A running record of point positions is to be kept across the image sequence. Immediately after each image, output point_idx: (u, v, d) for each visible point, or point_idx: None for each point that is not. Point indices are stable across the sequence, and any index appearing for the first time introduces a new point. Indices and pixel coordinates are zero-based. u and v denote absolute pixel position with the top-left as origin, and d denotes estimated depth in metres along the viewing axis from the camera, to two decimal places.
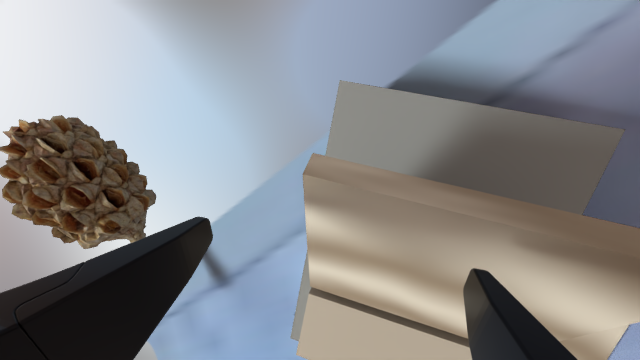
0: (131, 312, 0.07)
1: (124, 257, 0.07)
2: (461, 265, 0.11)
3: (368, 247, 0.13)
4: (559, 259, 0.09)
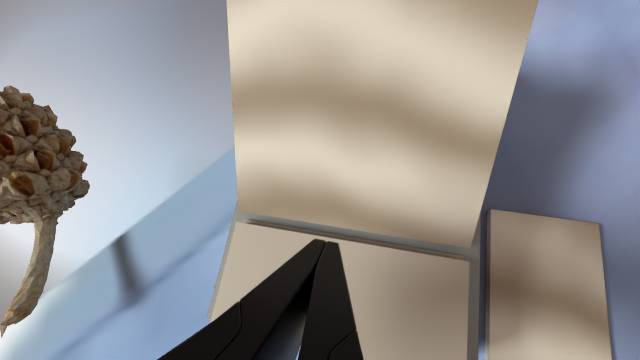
0: (283, 356, 0.06)
1: (278, 294, 0.06)
2: (362, 55, 0.13)
3: (284, 68, 0.14)
4: None
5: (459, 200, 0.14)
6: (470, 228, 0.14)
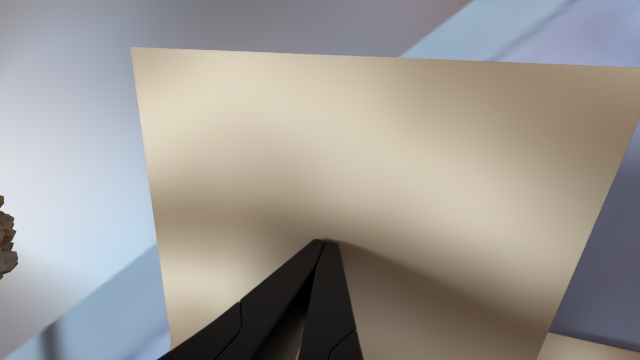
0: (283, 356, 0.06)
1: (278, 294, 0.06)
2: (336, 179, 0.08)
3: (223, 184, 0.09)
4: (429, 107, 0.07)
5: None
6: None
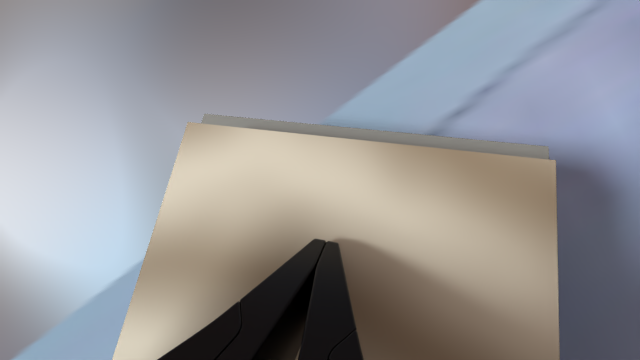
0: (283, 356, 0.06)
1: (278, 294, 0.06)
2: (334, 230, 0.09)
3: (227, 232, 0.10)
4: (408, 176, 0.09)
5: None
6: None
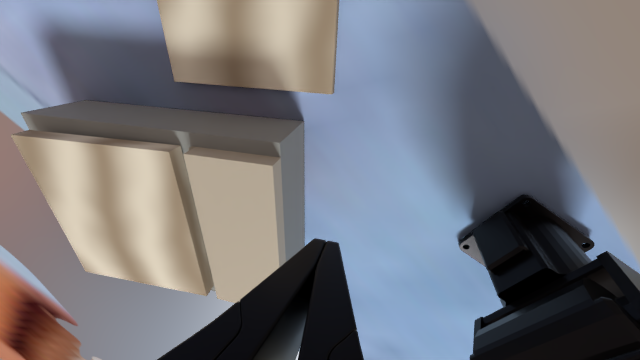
0: (283, 356, 0.06)
1: (278, 294, 0.06)
2: (87, 217, 0.22)
3: (111, 254, 0.24)
4: (52, 190, 0.21)
5: (137, 163, 0.18)
6: (153, 153, 0.18)
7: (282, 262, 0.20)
